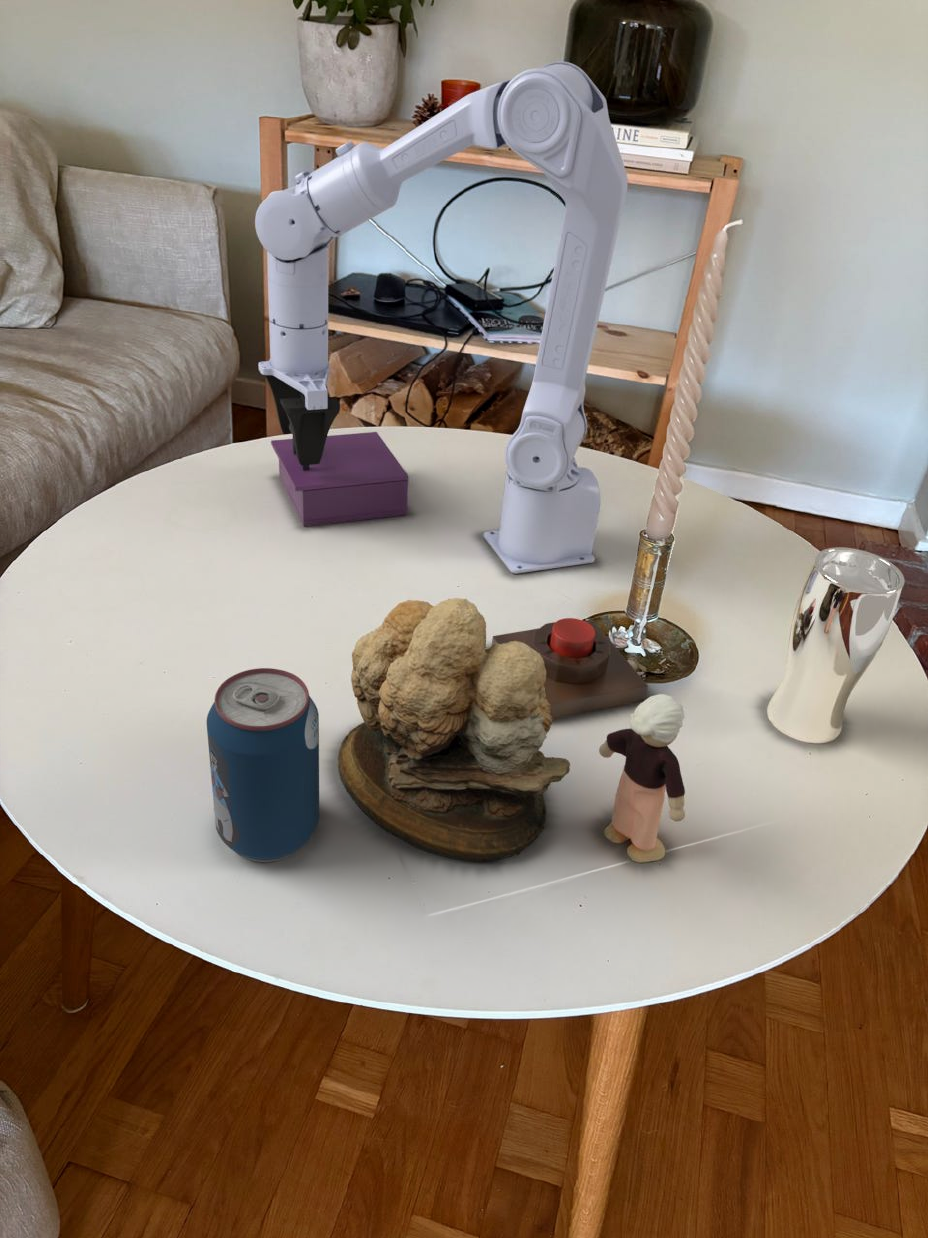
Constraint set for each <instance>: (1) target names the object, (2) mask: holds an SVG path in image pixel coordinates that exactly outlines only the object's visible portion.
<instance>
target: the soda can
mask: <svg viewBox="0 0 928 1238" xmlns="http://www.w3.org/2000/svg"><path fill="white" fill-rule="evenodd" d="M206 731H207V732H206V734H207V744H208V745H207V746H208V754H209V755H208V757H209V765H210V766H209V767H210V778H211V788H212V798H213V799H212V800H213V812H214V813H213V814H214V823H215V829H216V832H217V834H218V836H219V838H220V839H221V841H222V842H223V843H224V844H225V845H226V846H227V848H229V849H231V851H233V852H235V854H238V855H239V856H240V857H242V858H243V859H247V860H249V861H254V862H260V863H269V862H270V863H271V862H276V861H280V860H283V859H286V858H289V857H291V856H292V855H295V853H297V852H298V851H299V850H300V849H302V847H303V846H304V845H305V844H307V843H308V841H309V840H310V839H311V837H313V835H314V833H315V831H316V830H317V828H318V825H319V823H320V714H319V709H318V707H317V705H316V703H315V702H314V700H313V699H312V697H311V696H310V693H309V689H308V686H307V685H306V683H305V682H304V681H303V680H302V679H301V678H300V677H299V676H297V675H296V674H295V673H292V672H290V671H286V670H283V669H278V668H270V667H258V668H252V669H251V668H250V669H247V670H244V671H240V672H237V673H235V674H234V675H231V676H230V677H229V678H227V679H225V680H224V681H223V682H222V683H221V684H220V686H219V687H218V689H217V690H216V692H215V694H214V702H213V703H212V705H211V707H210V709H209V710H208V712H207V716H206Z"/></svg>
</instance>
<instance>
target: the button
mask: <svg viewBox="0 0 928 1238" xmlns="http://www.w3.org/2000/svg"><path fill="white" fill-rule="evenodd" d="M585 621H586V620H582V619H579V618H575V617H574V618H573V617H566V618H565V617H564V618H560V619H558V620H557V621H555V624H554V625H553V628H552V634H551V640H550V646H551V648H552V650H553V651H554V652H556V653H558V654H559V655H561V656H563V657H569V658H575V659H578V658H583V657H587V656H588V655H589V654H590V653H591V652H592V648H593V643H594V638H595V631H594V628H593V627H592V626H591V625H590V624H588V623H587V622H585Z"/></svg>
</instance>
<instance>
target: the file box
mask: <svg viewBox="0 0 928 1238" xmlns="http://www.w3.org/2000/svg"><path fill="white" fill-rule="evenodd" d="M278 473H279V474H278V475H279V480H280V482H281V485H282V486H283V488H284V491H285V492H286V495H287V496H288V498H289V500H290V503H291V504H292V507H293V508H294V510H295V512H296V515H297V516H298V518H299V520H300V523H301V525H302V527H311V526H312V527H313V526H321V525H330V524H331V525H332V524H338V523H339V524H340V523H348V522H355V521H366V520H373V519H382V518H388V517H389V518H390V517H392V518H393V517H398V516H406V515H407V509H408V496H409V495H408V492H409V479H408V480H401V481H391V482H381V483H371V484H361V485H352V486H342V487H332V488H322V489H312V490H303V491H295V490H294V488H293V486H292V484H291V482H290V480H289V478H288V476H287V474H286V472H285V470H284V468H283V466H282V464H281V462H280V460H279V459H278Z"/></svg>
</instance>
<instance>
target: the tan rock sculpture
mask: <svg viewBox="0 0 928 1238" xmlns="http://www.w3.org/2000/svg"><path fill="white" fill-rule="evenodd" d="M351 662H352V671H351V674H350V675H351V676H350V682H351V687H352V691H353V695H354V697H355V698H356V699H357V700H356V704H357V708H358V710H359V713H360V716H361V718H362V720H363V722H362V723H360V724H358V725H357V726H355V727H354V728H352V730H350V731H349V732H348V733H347V734H346V736H345V737H344V738H343V740H342V741H341V745H340V747H339V750H338V756H337V760H338V761H337V762H338V763H337V766H338V774H339V777H340V781H341V783H342V785H343V786H344V789H345V791H346V792H347V793H348V795H349V797H350V798H351V799H352V801H353V802H354V803H355V804H356V805H357V806H358V808H359V809H361V811H362V812H363V813H364V814H365V815H367V816H368V817H369V819H371V820H372V821H373V822H374V823H376V824H377V825H379V826H380V827H382V828H383V829H385V830H386V831H388V832H389V833H390V834H393V835H394V836H396V837H398V838H400V839H402V840H404V841H406V842H407V843H409V844H410V845H412V846H414V847H416V848H419V849H421V850H424V851H426V852H428V853H432V854H434V855H439V856H443V857H448V858H450V859H455V860H464V861H478V862H496V861H500V860H502V859H503V858H507V857H513V856H515V855H516V856H519V855H520V853H521V852H522V851H524V850H525V849H526V848H528V847H530V846H531V845H532V844H533V843H534V842H535V841H536V840H537V839H538V838H539V836H540V835H541V833H542V831H544V830H545V825H546V820H547V807H546V802H545V797H544V794H543V793H546V792H547V791H548V789H549V787H550V786H551V784H552V783H558V782H561V781H562V779H563V778H564V777H565V776H567V775H568V774H569V773H570V771H571V770H570V769H571V767H570V766H571V763H570V761H569V760H568V759H567V758H563V757H554V756H552V757H551V756H549V757H548V756H545V755H544V753H543V752H542V751H541V750H540V748H542V747H543V745H544V742H545V740H546V739H547V738H548V736H547V734H548V732H549V731H550V730H551V726H552V725H553V723H554V722H553V720H554V719H553V717H551V716H550V707H551V705H550V704H549V703H548V700H547V699H545V697H546V695H545V687H544V683H545V680H546V669H545V666H544V661H543V658H542V657H541V655H540V654H539V653H537V652H536V651H535V650H534V649H532V648H531V647H529V646H528V645H526V644H524V643H521V642H518V641H513V642H512V641H510V642H508V643H503V644H498V643H495V644H493V645H492V644H491V646H490V647H489V648H487V622H486V619H485V617H484V615H483V614H481V612H479V609H478V607H477V606H476V605H475V603H473V602H471V601H470V600H468V599H467V598H461V597H454V598H448V599H446V600H442V601H439V603H437V604H435V606H433V605H432V604H431V603H429V601H424V600H414V599H413V600H412V599H408V600H406V601H402V602H399V603H398V604H397V605H395V607H393V608H392V609H391V610H390V612H388V614H387V615H386V616H385V618H384V621H383V622H382V623H381V625H379V626H378V627H377V628H375V629H374V630H371V631H370V632H368V633H366V634H365V635H363V636H361V637H360V638H359V639H358V640H357V641H356V642H355V644H354V648H353V650H352V652H351ZM455 739H456V740H457V743H458V745H459V746H458V747H456V748H455V747H454V748H452V749H450V750H449V751H448V754H443V753H441V751H443V750H448V747H449V746H450V745H451V743H452V742H453V741H454V740H455ZM439 753H441V754H442V755H441V754H439ZM434 754H437V755H434ZM432 755H434V756H432Z"/></svg>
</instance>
